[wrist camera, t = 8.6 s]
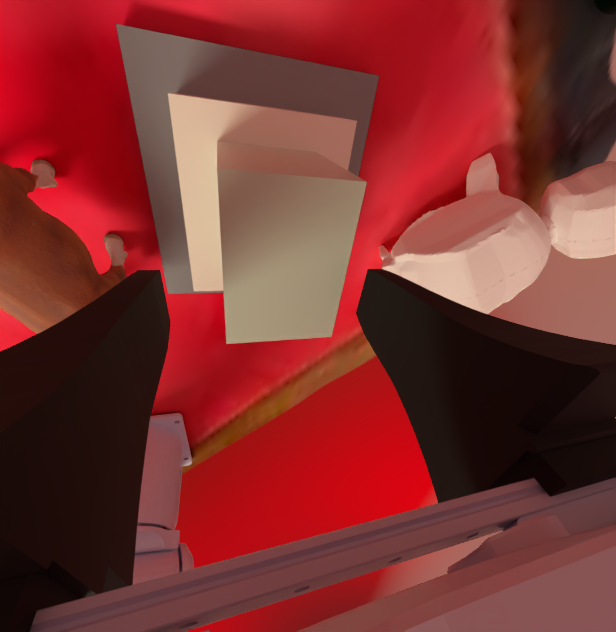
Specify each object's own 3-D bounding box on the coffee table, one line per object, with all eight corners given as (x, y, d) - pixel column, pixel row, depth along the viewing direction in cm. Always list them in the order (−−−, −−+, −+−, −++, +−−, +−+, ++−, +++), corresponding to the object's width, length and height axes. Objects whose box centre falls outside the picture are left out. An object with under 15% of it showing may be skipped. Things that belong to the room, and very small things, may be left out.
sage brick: (301, 272, 17) (331, 336, 13) (223, 272, 16) (226, 344, 12) (316, 152, 14) (367, 181, 9) (217, 140, 12) (217, 168, 8)
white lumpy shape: (403, 278, 29) (595, 207, 22) (418, 348, 23) (679, 283, 17) (368, 210, 24) (607, 90, 17) (377, 281, 18) (735, 145, 11)
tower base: (331, 283, 23) (348, 311, 20) (170, 286, 20) (161, 321, 17) (371, 76, 16) (408, 72, 13) (122, 28, 12) (90, 6, 9)
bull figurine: (-33, 22, 11) (-336, -63, 5) (164, 287, 20) (141, 374, 14) (-138, 60, 11) (-577, 19, 5) (105, 309, 20) (55, 407, 14)
